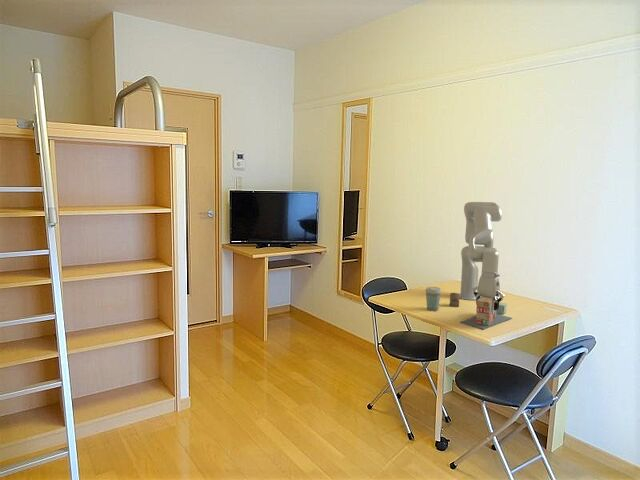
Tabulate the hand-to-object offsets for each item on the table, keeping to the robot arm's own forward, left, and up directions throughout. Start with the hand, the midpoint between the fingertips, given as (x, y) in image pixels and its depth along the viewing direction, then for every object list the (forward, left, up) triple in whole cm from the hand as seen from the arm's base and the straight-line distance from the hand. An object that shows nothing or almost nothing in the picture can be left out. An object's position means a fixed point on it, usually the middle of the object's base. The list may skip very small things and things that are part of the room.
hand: (487, 307), depth 230 cm
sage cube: (-19, -3, -7) cm, 20 cm away
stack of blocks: (-1, 0, -7) cm, 7 cm away
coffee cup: (+6, -29, -7) cm, 30 cm away
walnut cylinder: (-10, -26, -7) cm, 29 cm away
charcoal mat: (0, 0, -7) cm, 7 cm away
